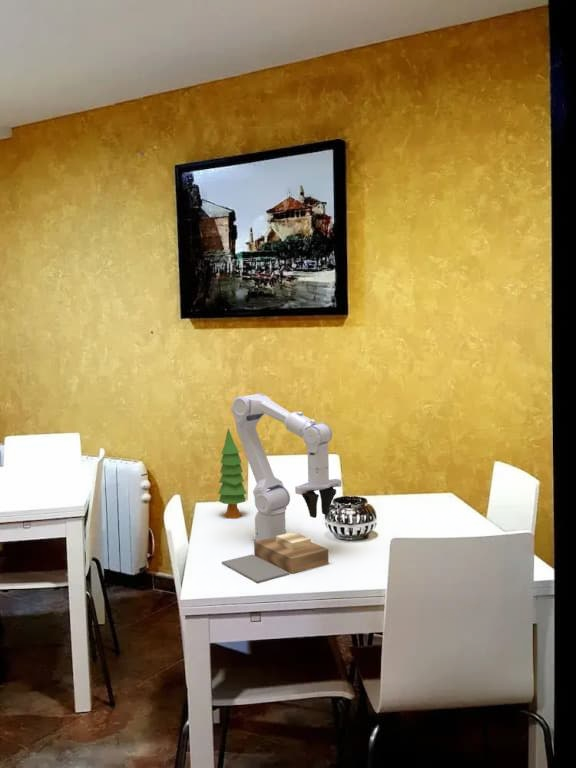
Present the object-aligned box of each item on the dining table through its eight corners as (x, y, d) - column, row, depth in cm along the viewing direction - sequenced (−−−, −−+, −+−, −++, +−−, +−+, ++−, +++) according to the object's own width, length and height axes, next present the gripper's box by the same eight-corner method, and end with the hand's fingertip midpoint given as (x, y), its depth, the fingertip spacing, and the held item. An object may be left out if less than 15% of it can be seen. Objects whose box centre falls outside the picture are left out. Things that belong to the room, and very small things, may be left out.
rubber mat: (221, 563, 189) (221, 561, 189) (252, 556, 194) (252, 554, 194) (257, 583, 174) (257, 581, 174) (289, 574, 179) (289, 572, 179)
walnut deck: (254, 555, 194) (254, 541, 194) (290, 546, 201) (289, 533, 201) (291, 573, 180) (291, 558, 179) (328, 563, 186) (328, 549, 186)
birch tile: (276, 543, 192) (275, 535, 192) (293, 538, 196) (293, 531, 195) (292, 550, 186) (292, 543, 185) (310, 545, 189) (310, 538, 189)
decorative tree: (216, 519, 232) (213, 429, 229) (222, 511, 241) (220, 424, 238) (245, 519, 230) (242, 429, 227) (250, 511, 239) (248, 424, 237)
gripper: (305, 473, 186) (306, 523, 188) (347, 466, 195) (348, 514, 196) (290, 469, 192) (291, 517, 194) (332, 462, 200) (333, 508, 202)
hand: (319, 515), depth 195 cm, fingers open, 4 cm apart
